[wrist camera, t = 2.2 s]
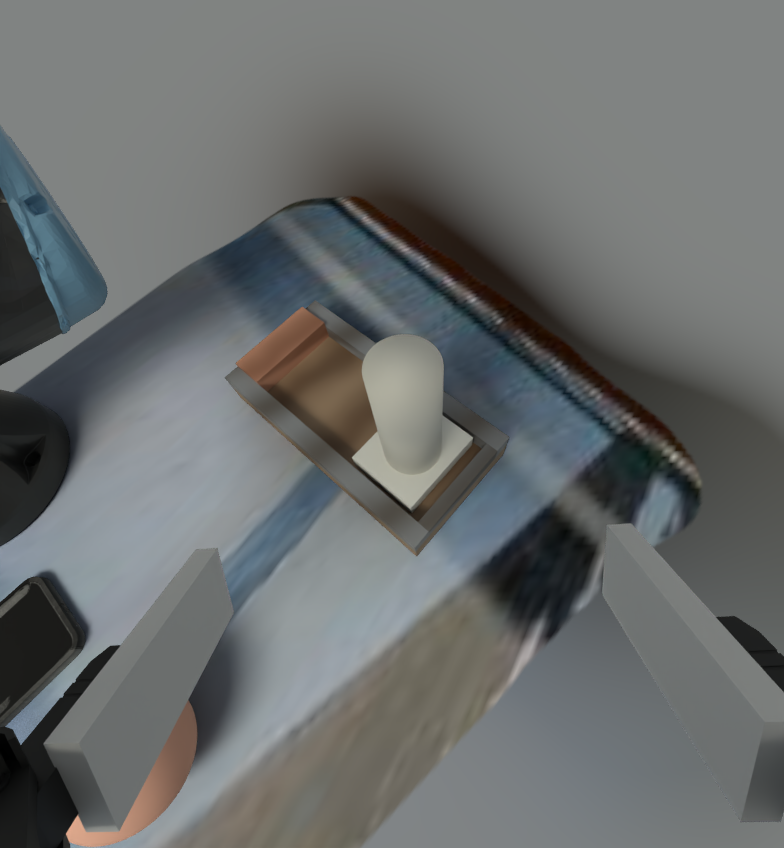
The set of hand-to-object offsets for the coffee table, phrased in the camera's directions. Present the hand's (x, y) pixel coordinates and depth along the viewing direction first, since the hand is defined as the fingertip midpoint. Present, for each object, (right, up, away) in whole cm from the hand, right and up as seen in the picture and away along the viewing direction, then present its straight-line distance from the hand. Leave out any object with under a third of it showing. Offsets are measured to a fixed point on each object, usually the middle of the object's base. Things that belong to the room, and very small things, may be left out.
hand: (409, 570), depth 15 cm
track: (-3, +5, +24) cm, 25 cm away
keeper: (+1, +3, +20) cm, 20 cm away
